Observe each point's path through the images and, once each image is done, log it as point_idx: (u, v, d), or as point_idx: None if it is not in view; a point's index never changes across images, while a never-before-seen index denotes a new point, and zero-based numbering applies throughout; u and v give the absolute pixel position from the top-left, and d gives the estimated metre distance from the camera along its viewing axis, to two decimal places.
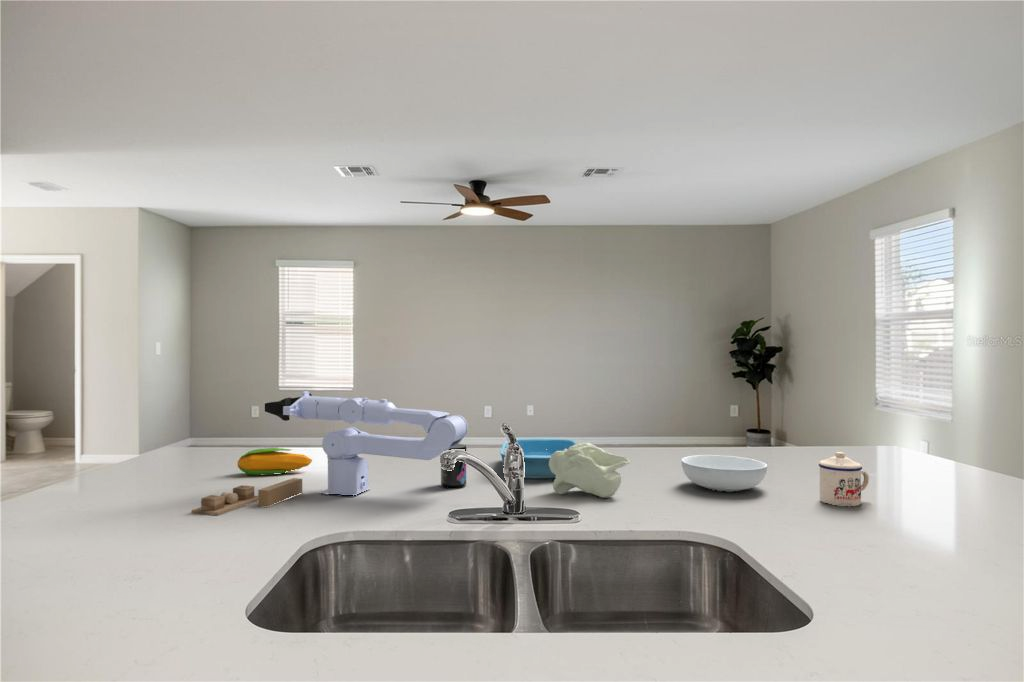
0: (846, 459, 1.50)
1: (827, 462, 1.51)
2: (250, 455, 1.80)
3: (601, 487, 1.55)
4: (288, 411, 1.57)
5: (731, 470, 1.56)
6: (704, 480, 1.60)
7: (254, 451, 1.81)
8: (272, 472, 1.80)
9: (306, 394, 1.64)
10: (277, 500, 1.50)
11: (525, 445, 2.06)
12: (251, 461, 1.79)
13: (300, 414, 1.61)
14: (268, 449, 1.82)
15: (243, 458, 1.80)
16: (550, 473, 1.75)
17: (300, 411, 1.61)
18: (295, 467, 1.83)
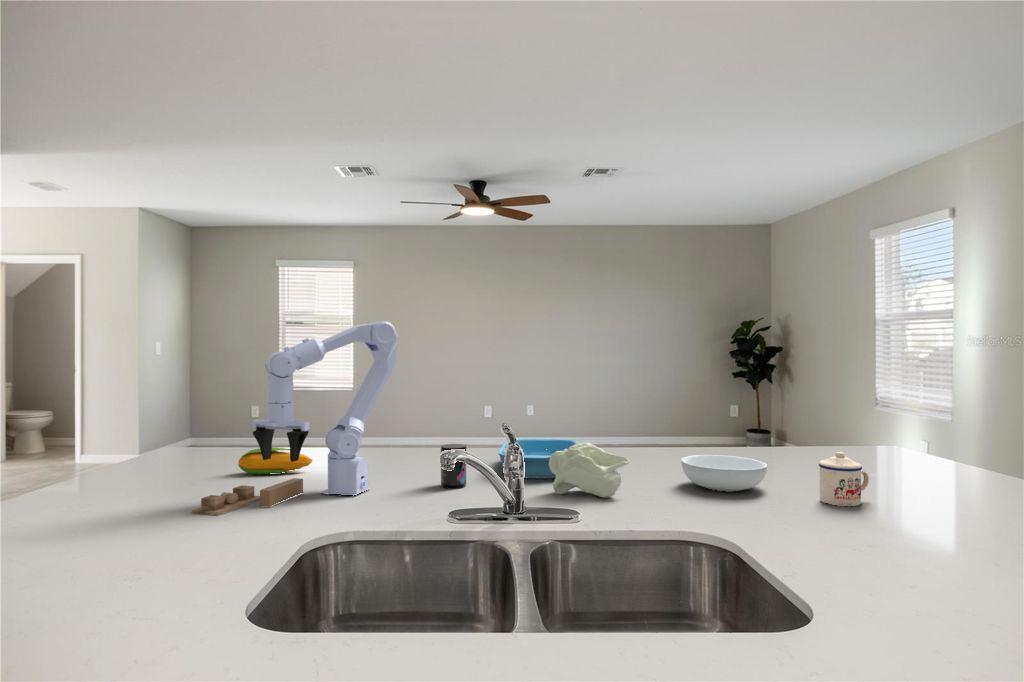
0: (846, 459, 1.50)
1: (827, 462, 1.51)
2: (250, 454, 1.81)
3: (601, 487, 1.55)
4: (307, 424, 1.52)
5: (731, 470, 1.56)
6: (704, 480, 1.60)
7: (254, 450, 1.81)
8: (272, 472, 1.81)
9: (272, 423, 1.50)
10: (279, 500, 1.50)
11: (527, 445, 2.06)
12: (251, 460, 1.80)
13: (293, 421, 1.54)
14: None
15: (244, 457, 1.81)
16: (547, 473, 1.75)
17: (292, 421, 1.53)
18: (295, 467, 1.83)
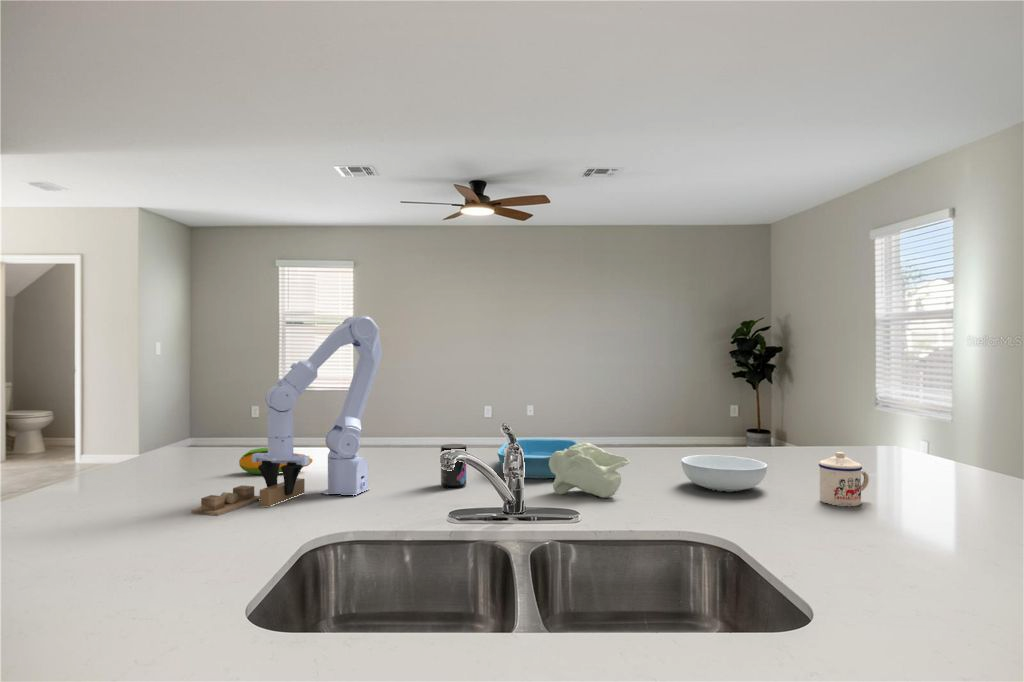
0: (846, 459, 1.50)
1: (827, 461, 1.51)
2: (251, 454, 1.81)
3: (601, 487, 1.55)
4: (307, 458, 1.52)
5: (731, 470, 1.56)
6: (704, 480, 1.60)
7: (255, 450, 1.82)
8: None
9: (272, 457, 1.50)
10: (278, 500, 1.50)
11: (528, 444, 2.06)
12: None
13: (293, 454, 1.54)
14: None
15: (244, 457, 1.81)
16: (545, 473, 1.75)
17: (292, 455, 1.53)
18: None
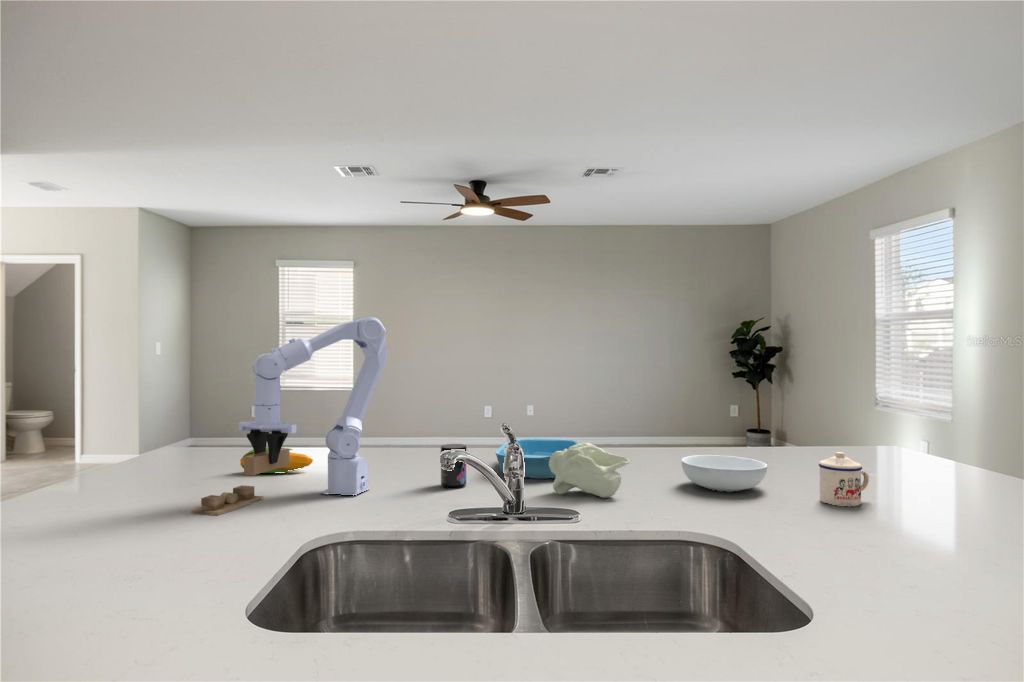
0: (846, 459, 1.50)
1: (827, 462, 1.51)
2: (252, 454, 1.82)
3: (601, 487, 1.55)
4: (294, 426, 1.50)
5: (731, 470, 1.56)
6: (704, 480, 1.60)
7: None
8: (272, 471, 1.82)
9: (258, 425, 1.49)
10: (263, 468, 1.49)
11: (530, 444, 2.06)
12: None
13: (280, 423, 1.53)
14: None
15: (245, 456, 1.82)
16: (542, 473, 1.75)
17: (279, 423, 1.52)
18: (295, 467, 1.83)
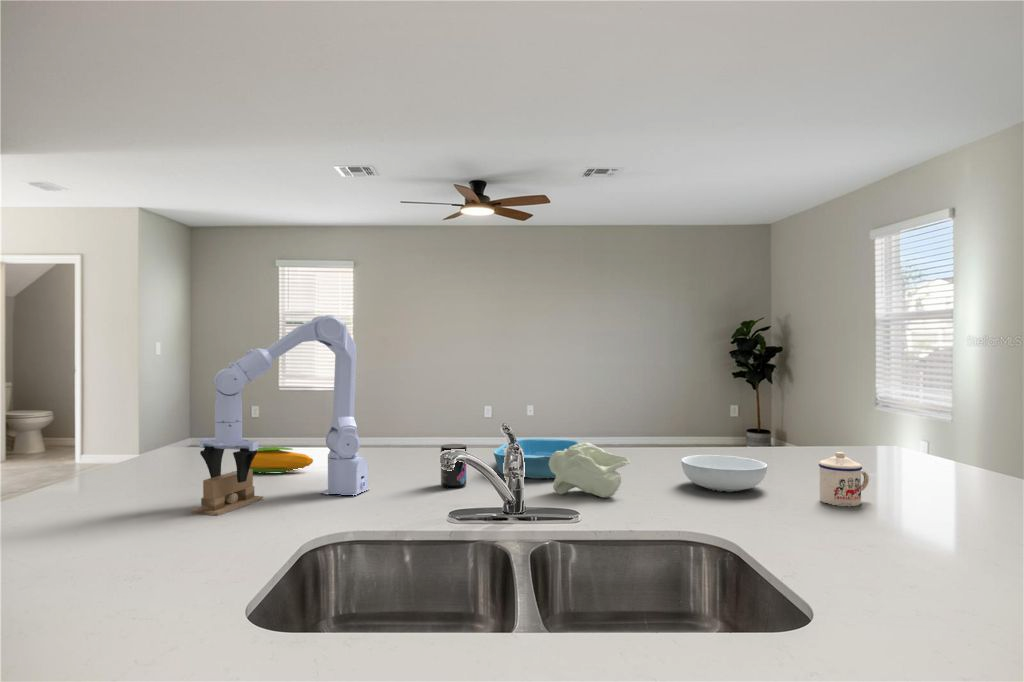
0: (846, 459, 1.50)
1: (827, 462, 1.51)
2: None
3: (601, 487, 1.55)
4: (255, 443, 1.46)
5: (731, 470, 1.56)
6: (704, 480, 1.60)
7: None
8: (273, 471, 1.82)
9: (218, 442, 1.45)
10: (224, 491, 1.45)
11: (532, 444, 2.06)
12: (253, 459, 1.82)
13: (242, 440, 1.49)
14: (270, 448, 1.84)
15: None
16: (539, 473, 1.75)
17: (241, 440, 1.48)
18: (296, 466, 1.83)
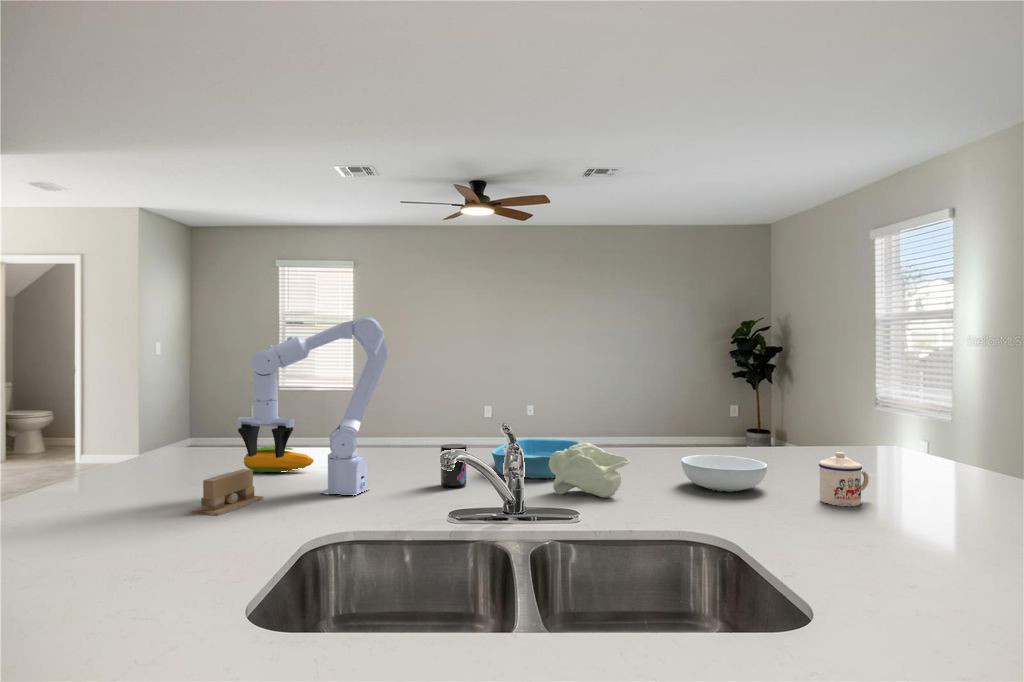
0: (846, 459, 1.50)
1: (827, 462, 1.51)
2: None
3: (601, 487, 1.55)
4: (291, 420, 1.55)
5: (731, 470, 1.56)
6: (704, 480, 1.60)
7: (258, 449, 1.84)
8: (273, 470, 1.83)
9: (257, 420, 1.53)
10: (224, 491, 1.45)
11: (534, 444, 2.06)
12: (254, 459, 1.82)
13: (278, 418, 1.57)
14: (271, 447, 1.84)
15: (248, 455, 1.84)
16: (536, 473, 1.75)
17: (277, 418, 1.56)
18: (296, 466, 1.84)
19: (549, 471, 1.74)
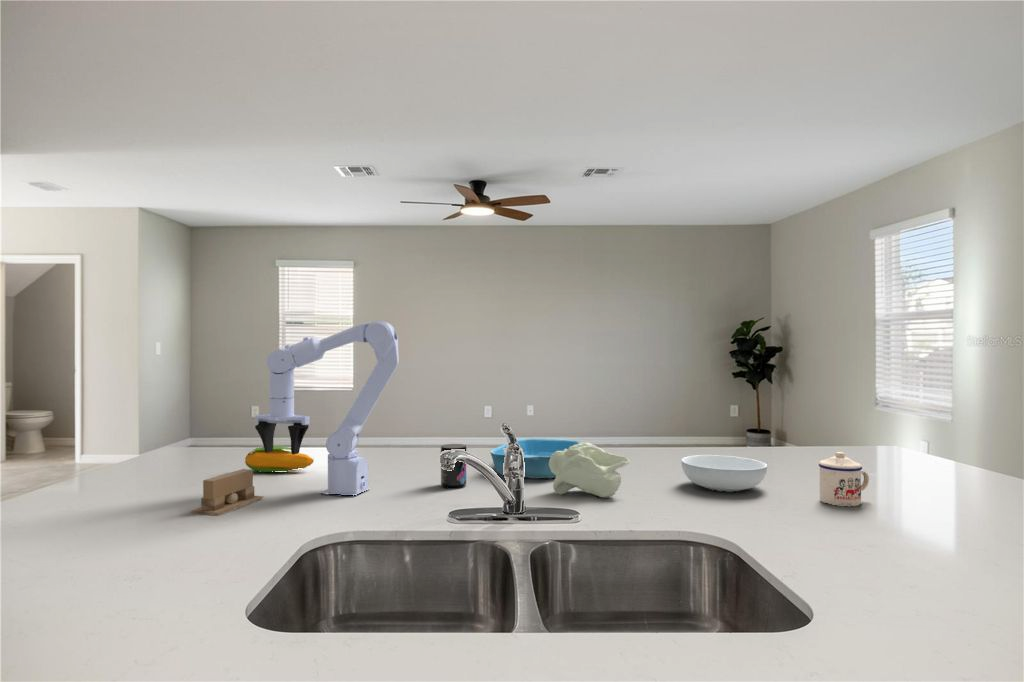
0: (846, 459, 1.50)
1: (827, 462, 1.51)
2: (255, 452, 1.84)
3: (601, 487, 1.55)
4: (307, 418, 1.59)
5: (731, 470, 1.56)
6: (704, 480, 1.60)
7: (259, 448, 1.85)
8: (274, 470, 1.83)
9: (274, 417, 1.57)
10: (224, 491, 1.45)
11: (535, 444, 2.06)
12: (255, 458, 1.83)
13: (294, 415, 1.61)
14: None
15: (249, 455, 1.85)
16: (533, 473, 1.75)
17: (293, 415, 1.60)
18: (296, 466, 1.84)
19: (547, 471, 1.74)
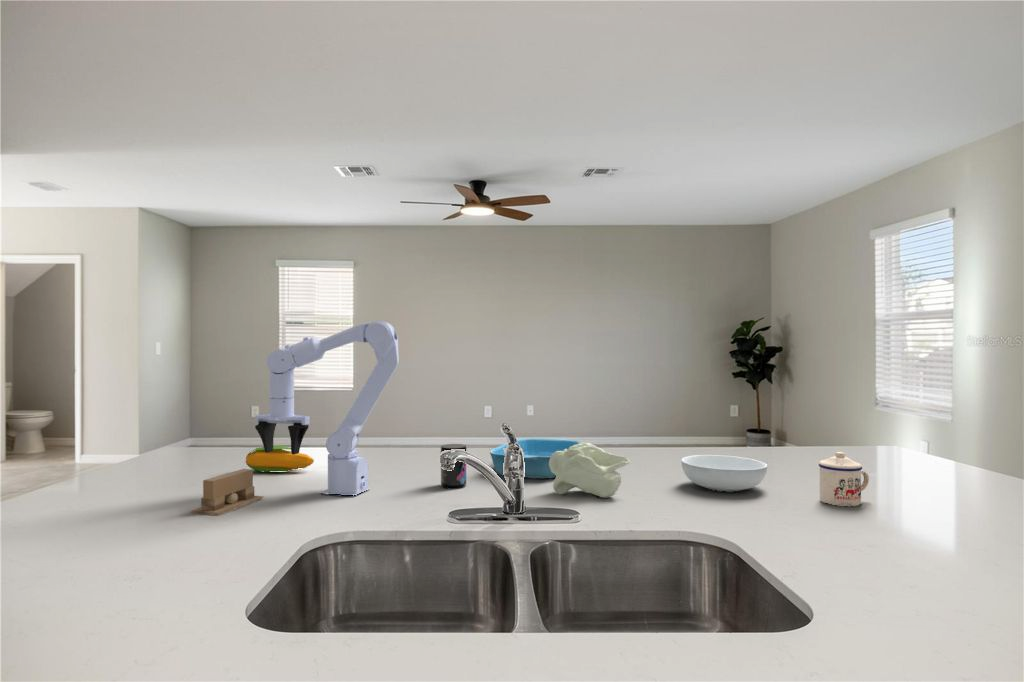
0: (846, 459, 1.50)
1: (827, 462, 1.51)
2: (256, 452, 1.85)
3: (601, 487, 1.55)
4: (307, 418, 1.59)
5: (731, 470, 1.56)
6: (704, 480, 1.60)
7: (259, 448, 1.85)
8: (274, 470, 1.83)
9: (274, 417, 1.57)
10: (224, 491, 1.45)
11: (536, 444, 2.06)
12: (255, 458, 1.83)
13: (294, 415, 1.61)
14: None
15: (250, 455, 1.85)
16: (533, 473, 1.75)
17: (293, 415, 1.60)
18: (296, 466, 1.84)
19: (546, 471, 1.74)
